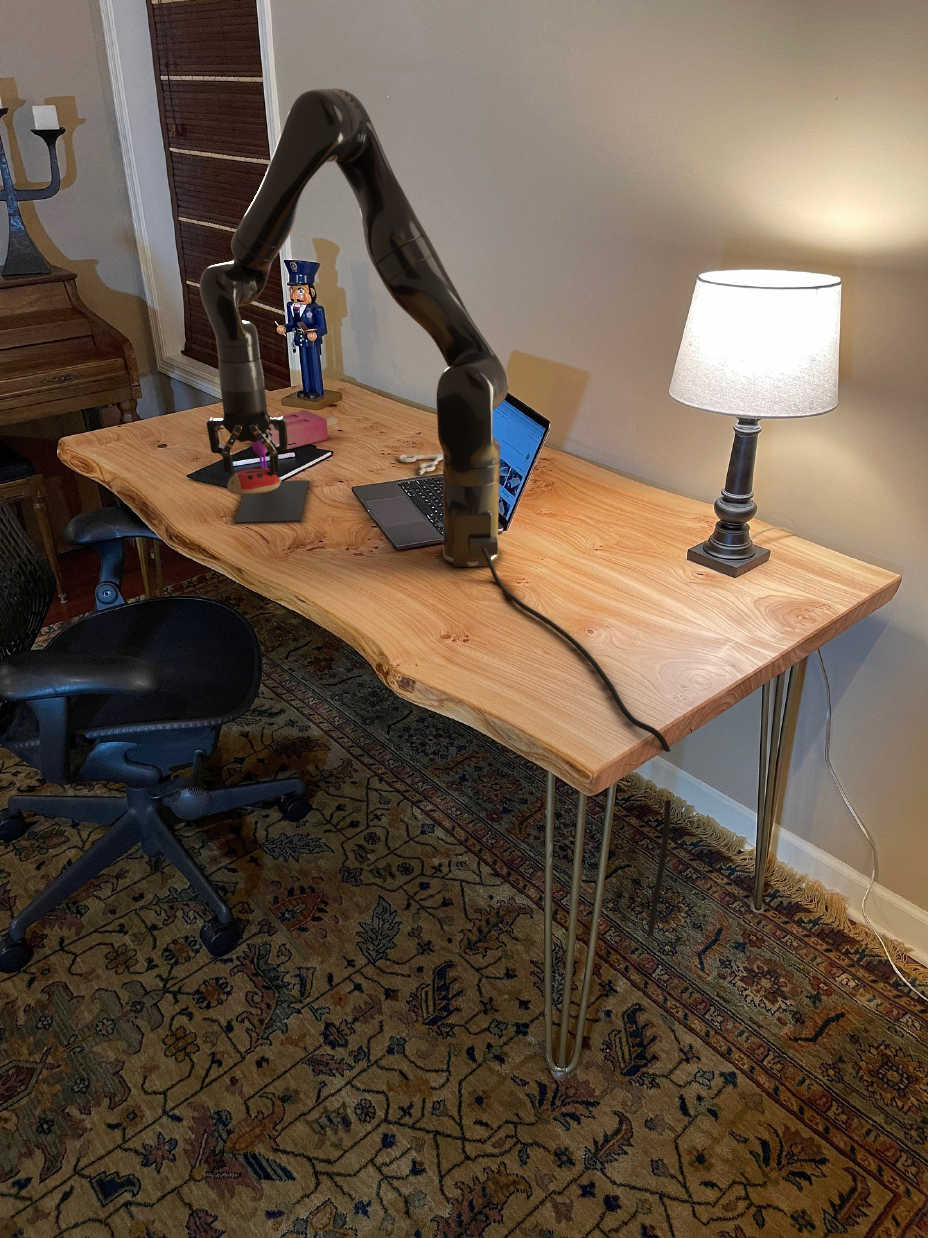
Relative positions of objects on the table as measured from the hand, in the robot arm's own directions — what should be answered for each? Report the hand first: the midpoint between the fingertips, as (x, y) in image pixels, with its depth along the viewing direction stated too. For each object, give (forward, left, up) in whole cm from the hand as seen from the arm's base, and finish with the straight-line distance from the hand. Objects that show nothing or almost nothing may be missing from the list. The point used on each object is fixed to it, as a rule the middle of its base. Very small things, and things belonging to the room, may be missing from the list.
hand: (252, 473), depth 165 cm
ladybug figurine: (0, 0, -3) cm, 3 cm away
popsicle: (+42, -5, -8) cm, 43 cm away
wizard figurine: (+22, +1, -8) cm, 23 cm away
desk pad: (+5, -3, -8) cm, 9 cm away
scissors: (+27, -37, -8) cm, 46 cm away
